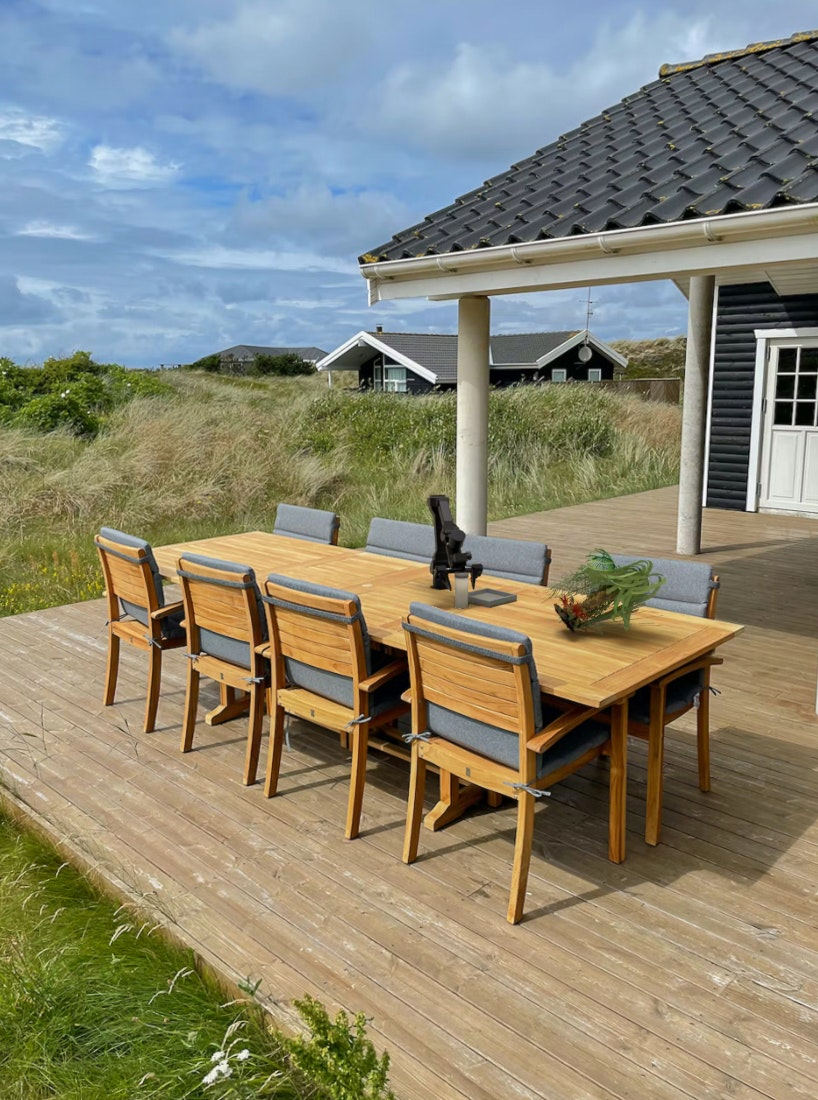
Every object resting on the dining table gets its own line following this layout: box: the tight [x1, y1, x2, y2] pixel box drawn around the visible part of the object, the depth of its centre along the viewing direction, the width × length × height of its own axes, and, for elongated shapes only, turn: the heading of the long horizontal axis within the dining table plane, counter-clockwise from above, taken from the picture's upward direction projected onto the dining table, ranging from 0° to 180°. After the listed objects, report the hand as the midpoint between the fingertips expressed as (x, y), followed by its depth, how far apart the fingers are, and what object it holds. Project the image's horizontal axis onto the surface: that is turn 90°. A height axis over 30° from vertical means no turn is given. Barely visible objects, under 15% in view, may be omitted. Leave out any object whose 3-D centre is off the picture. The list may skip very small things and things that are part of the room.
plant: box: [534, 548, 667, 636], centre depth 294 cm, size 35×35×40 cm
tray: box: [468, 587, 518, 609], centre depth 342 cm, size 16×16×2 cm
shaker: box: [453, 571, 470, 610], centre depth 331 cm, size 5×5×14 cm
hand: (462, 589), depth 329 cm, fingers open, 9 cm apart
